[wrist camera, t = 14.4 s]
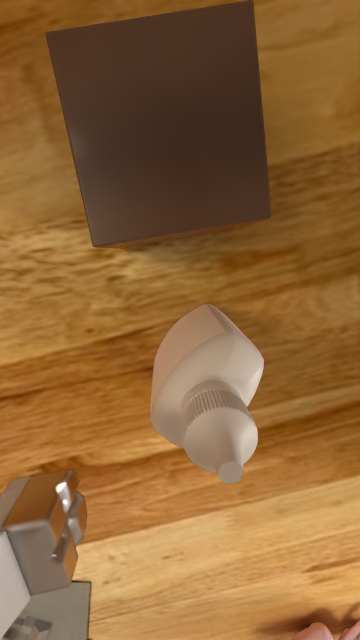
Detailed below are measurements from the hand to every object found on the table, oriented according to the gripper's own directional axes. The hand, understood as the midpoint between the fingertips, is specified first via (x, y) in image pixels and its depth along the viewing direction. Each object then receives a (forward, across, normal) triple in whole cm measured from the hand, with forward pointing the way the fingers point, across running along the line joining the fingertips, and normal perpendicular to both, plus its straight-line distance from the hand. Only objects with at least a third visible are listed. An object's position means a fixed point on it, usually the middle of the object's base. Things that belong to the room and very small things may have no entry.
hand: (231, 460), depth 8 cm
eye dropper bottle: (+12, 0, +1) cm, 12 cm away
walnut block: (+12, 0, -10) cm, 16 cm away
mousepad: (+12, +15, +22) cm, 30 cm away
